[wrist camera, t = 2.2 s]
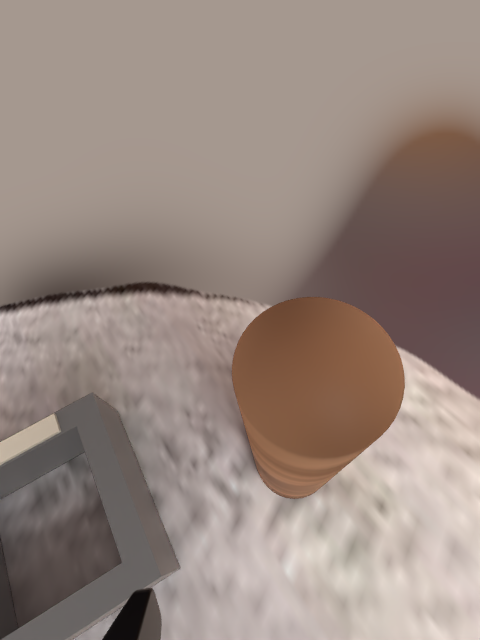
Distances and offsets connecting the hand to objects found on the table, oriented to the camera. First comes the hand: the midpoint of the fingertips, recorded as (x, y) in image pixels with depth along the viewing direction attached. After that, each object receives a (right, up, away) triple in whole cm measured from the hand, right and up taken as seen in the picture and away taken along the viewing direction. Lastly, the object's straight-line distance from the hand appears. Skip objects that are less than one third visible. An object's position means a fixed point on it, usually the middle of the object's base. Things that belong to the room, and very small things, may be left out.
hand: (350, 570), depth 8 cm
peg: (0, -2, +12) cm, 12 cm away
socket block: (-12, -5, +11) cm, 17 cm away
